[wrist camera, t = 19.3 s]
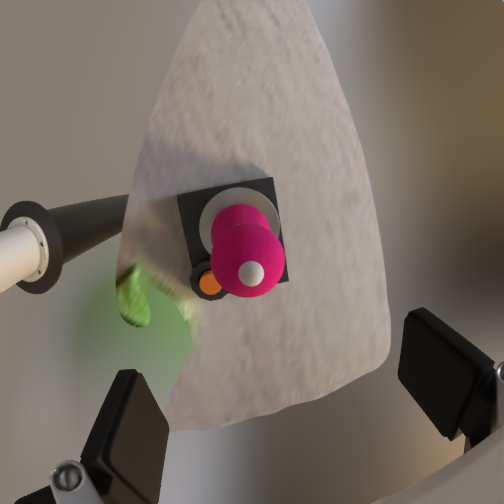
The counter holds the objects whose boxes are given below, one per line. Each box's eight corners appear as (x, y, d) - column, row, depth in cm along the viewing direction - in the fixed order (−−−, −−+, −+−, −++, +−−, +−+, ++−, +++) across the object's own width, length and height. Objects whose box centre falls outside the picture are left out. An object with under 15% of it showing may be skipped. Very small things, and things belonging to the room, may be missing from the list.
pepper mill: (270, 206, 38) (315, 234, 18) (259, 257, 39) (290, 330, 20) (217, 197, 37) (206, 215, 17) (208, 249, 38) (192, 317, 19)
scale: (197, 295, 44) (195, 303, 41) (174, 195, 40) (170, 196, 37) (287, 278, 44) (291, 285, 42) (271, 177, 40) (274, 177, 37)
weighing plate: (208, 271, 40) (208, 273, 39) (192, 195, 37) (191, 196, 36) (283, 257, 40) (284, 258, 40) (271, 181, 38) (272, 181, 37)
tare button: (203, 292, 41) (202, 296, 39) (198, 272, 40) (197, 276, 38) (224, 288, 41) (223, 292, 39) (219, 268, 40) (219, 271, 39)
